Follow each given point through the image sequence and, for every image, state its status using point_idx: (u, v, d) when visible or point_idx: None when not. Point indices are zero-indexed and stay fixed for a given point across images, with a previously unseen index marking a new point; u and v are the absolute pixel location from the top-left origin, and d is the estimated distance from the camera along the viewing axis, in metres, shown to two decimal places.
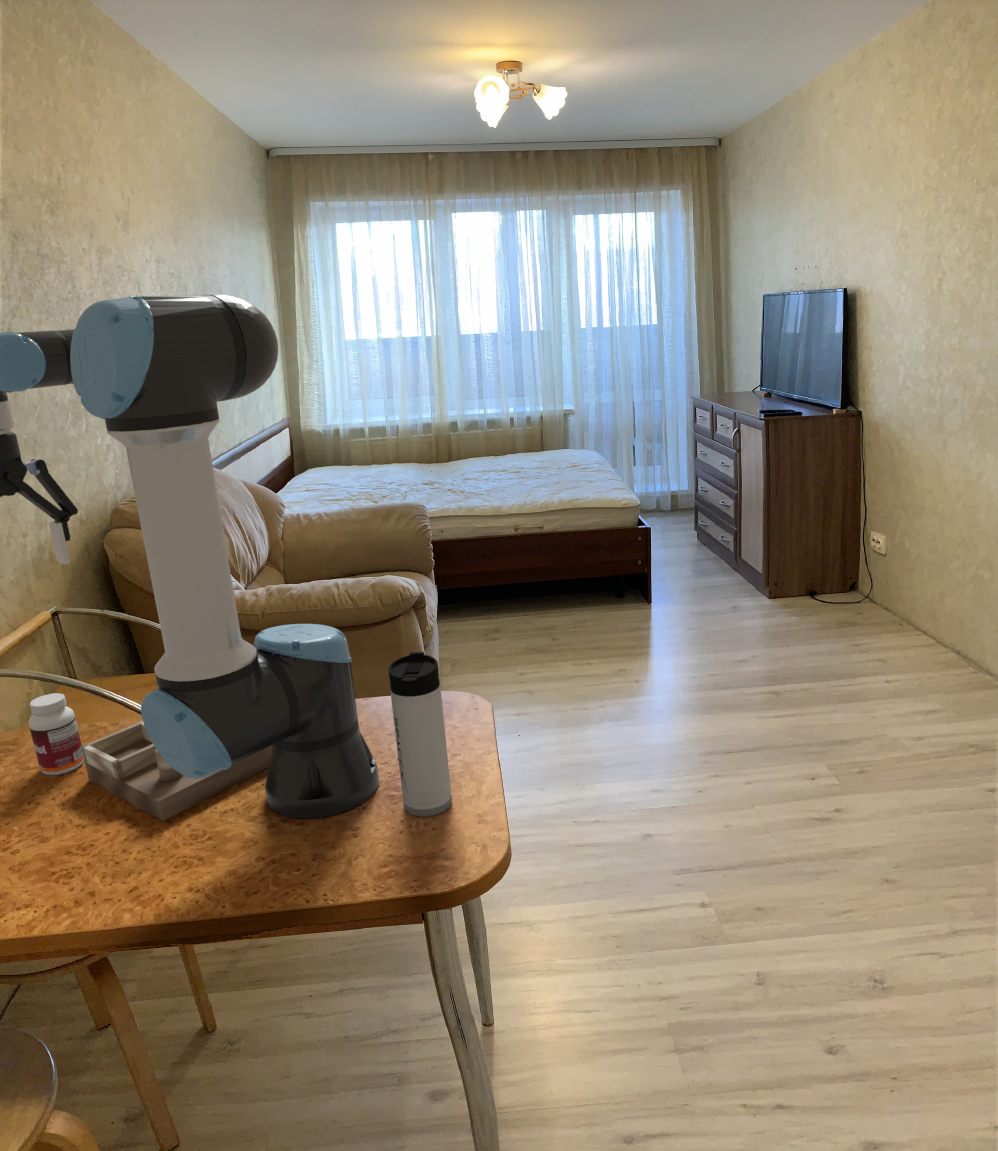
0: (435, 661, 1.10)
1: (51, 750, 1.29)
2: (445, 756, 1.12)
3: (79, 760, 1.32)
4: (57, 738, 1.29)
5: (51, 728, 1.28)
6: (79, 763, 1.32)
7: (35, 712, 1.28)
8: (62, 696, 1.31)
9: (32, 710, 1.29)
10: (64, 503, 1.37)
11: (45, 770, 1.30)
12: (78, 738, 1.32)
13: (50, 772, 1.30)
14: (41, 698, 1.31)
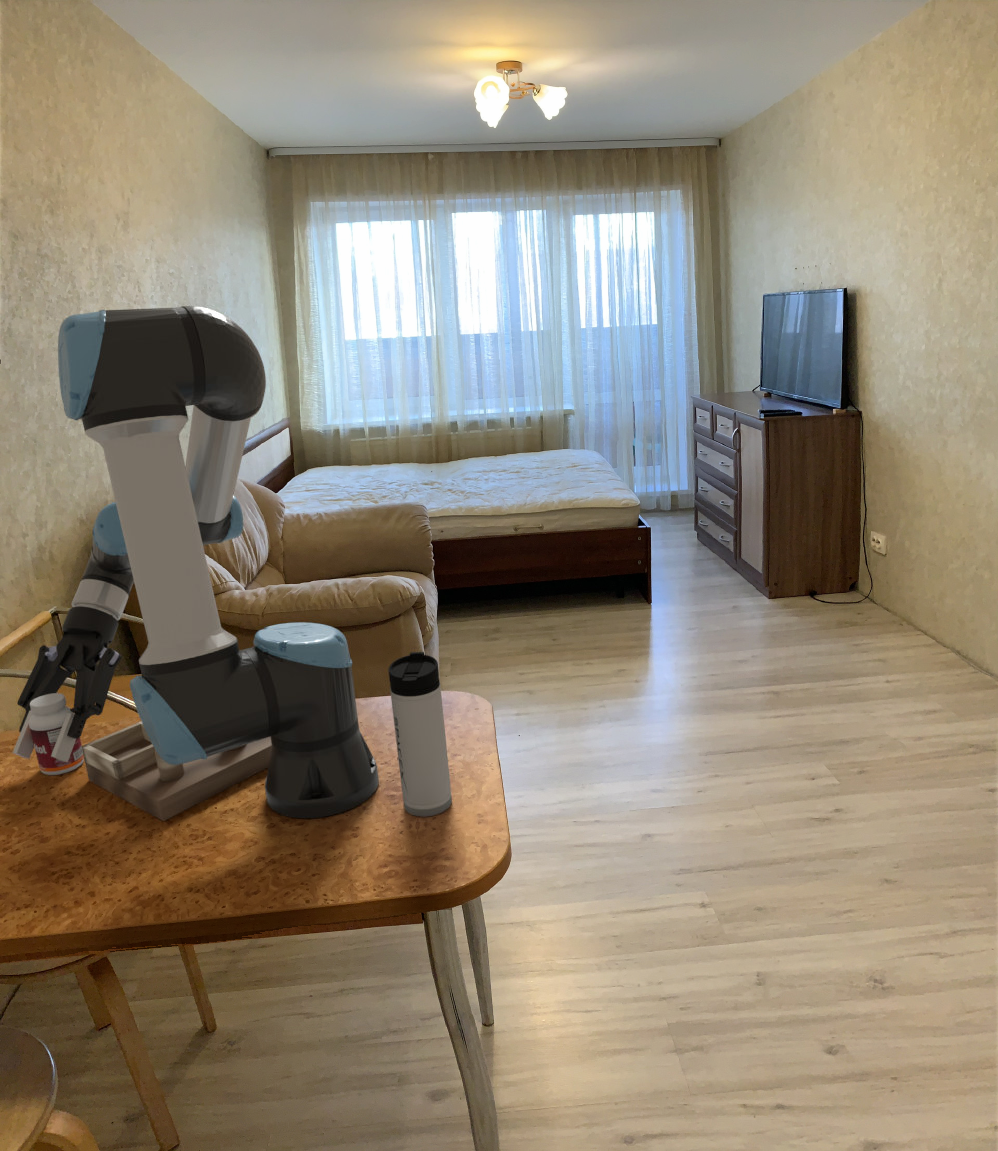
0: (435, 661, 1.10)
1: (51, 750, 1.29)
2: (445, 756, 1.12)
3: (79, 760, 1.32)
4: (57, 738, 1.29)
5: (51, 728, 1.28)
6: (79, 763, 1.32)
7: (35, 712, 1.28)
8: (62, 696, 1.31)
9: (32, 710, 1.29)
10: (89, 694, 1.31)
11: (45, 770, 1.30)
12: None
13: (50, 772, 1.30)
14: (41, 698, 1.31)
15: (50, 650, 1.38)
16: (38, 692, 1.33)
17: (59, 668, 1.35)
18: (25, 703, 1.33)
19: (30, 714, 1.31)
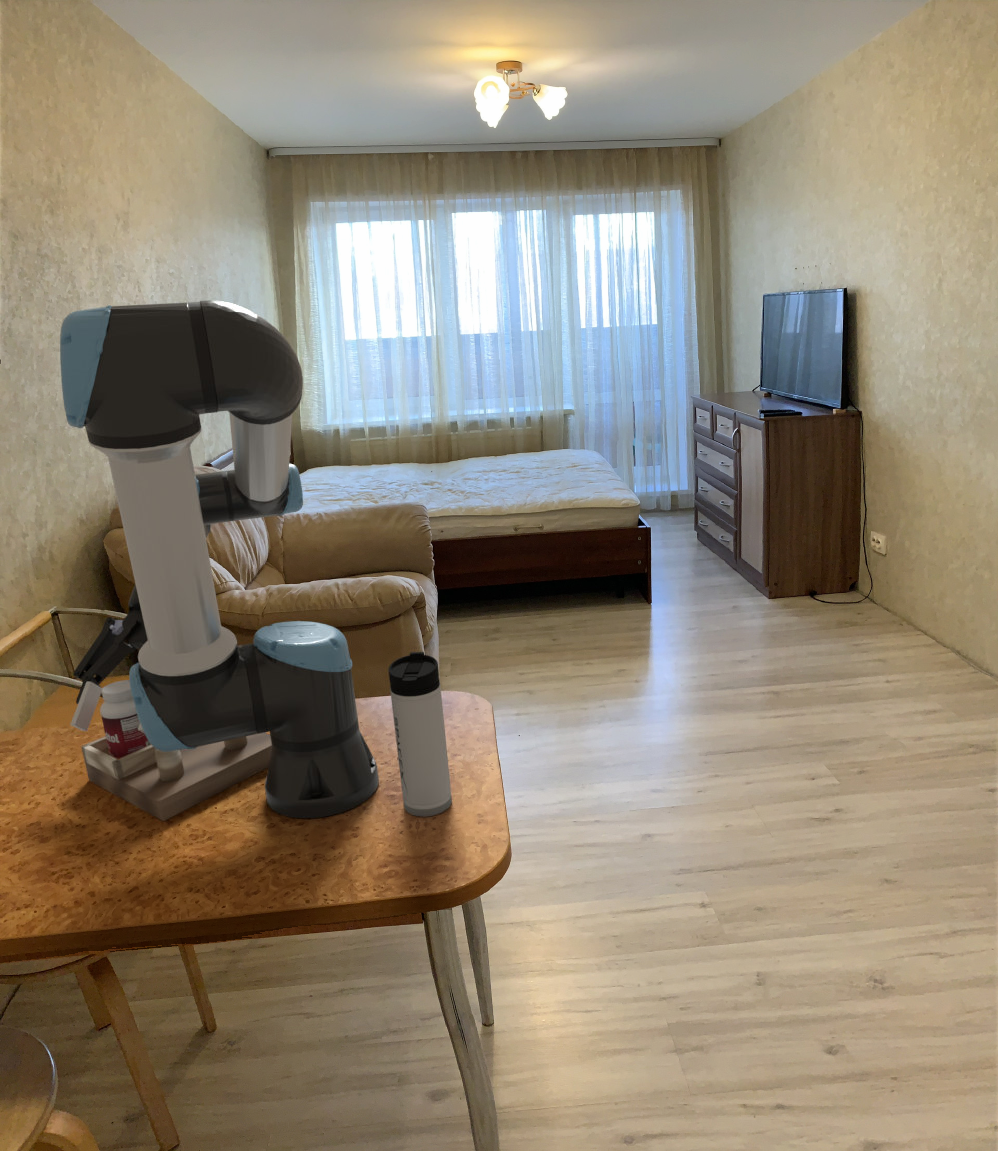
0: (435, 661, 1.10)
1: (124, 739, 1.24)
2: (445, 756, 1.12)
3: None
4: (130, 727, 1.24)
5: (125, 716, 1.23)
6: None
7: (108, 699, 1.23)
8: None
9: (104, 697, 1.23)
10: None
11: None
12: None
13: None
14: (112, 685, 1.25)
15: (116, 623, 1.32)
16: (97, 664, 1.28)
17: (122, 643, 1.29)
18: (81, 675, 1.29)
19: (87, 685, 1.27)
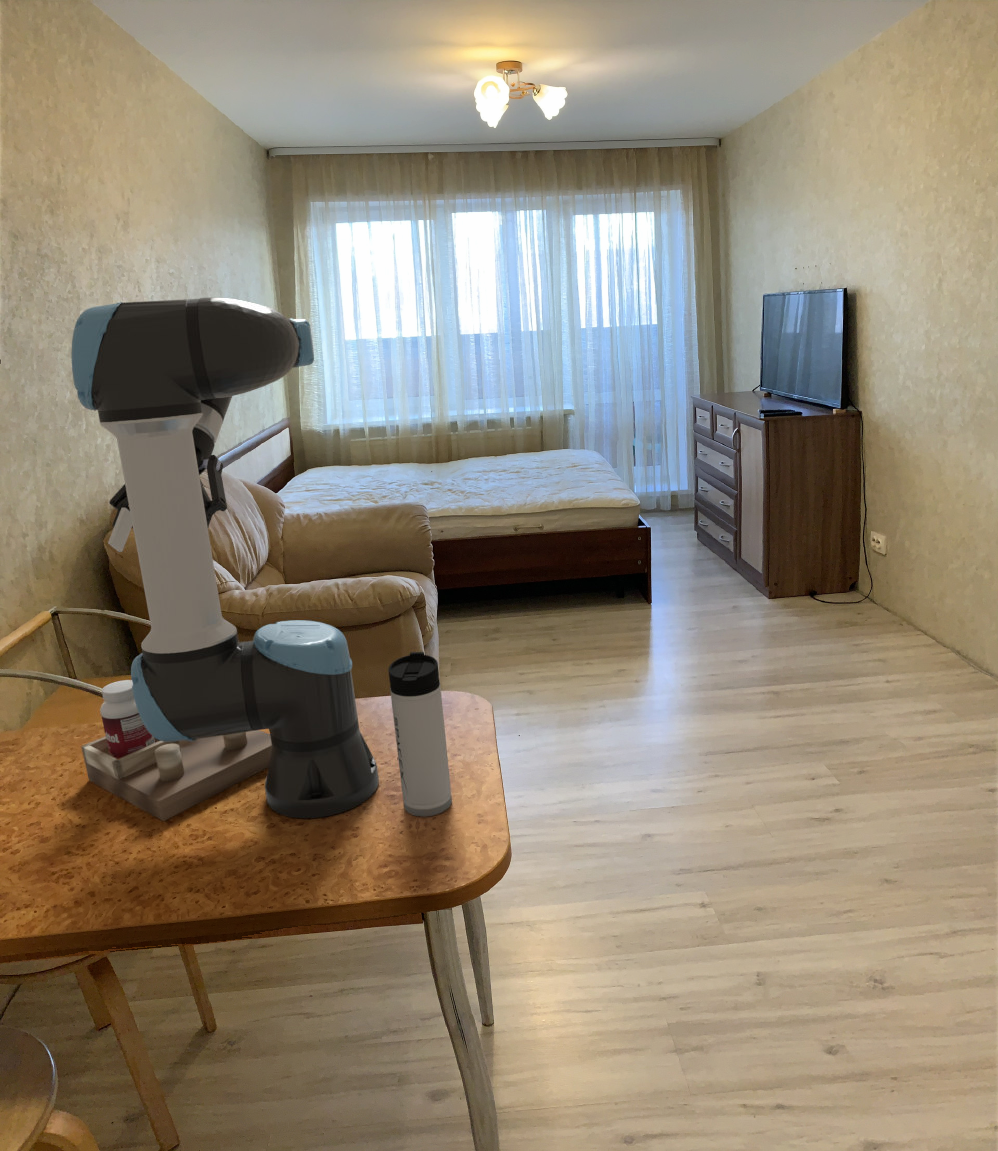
0: (435, 661, 1.10)
1: (124, 739, 1.24)
2: (445, 756, 1.12)
3: None
4: (130, 727, 1.24)
5: (125, 716, 1.23)
6: None
7: (108, 699, 1.23)
8: None
9: (104, 697, 1.23)
10: (211, 492, 1.38)
11: None
12: None
13: None
14: (113, 685, 1.25)
15: None
16: None
17: None
18: (116, 504, 1.42)
19: (122, 510, 1.40)
